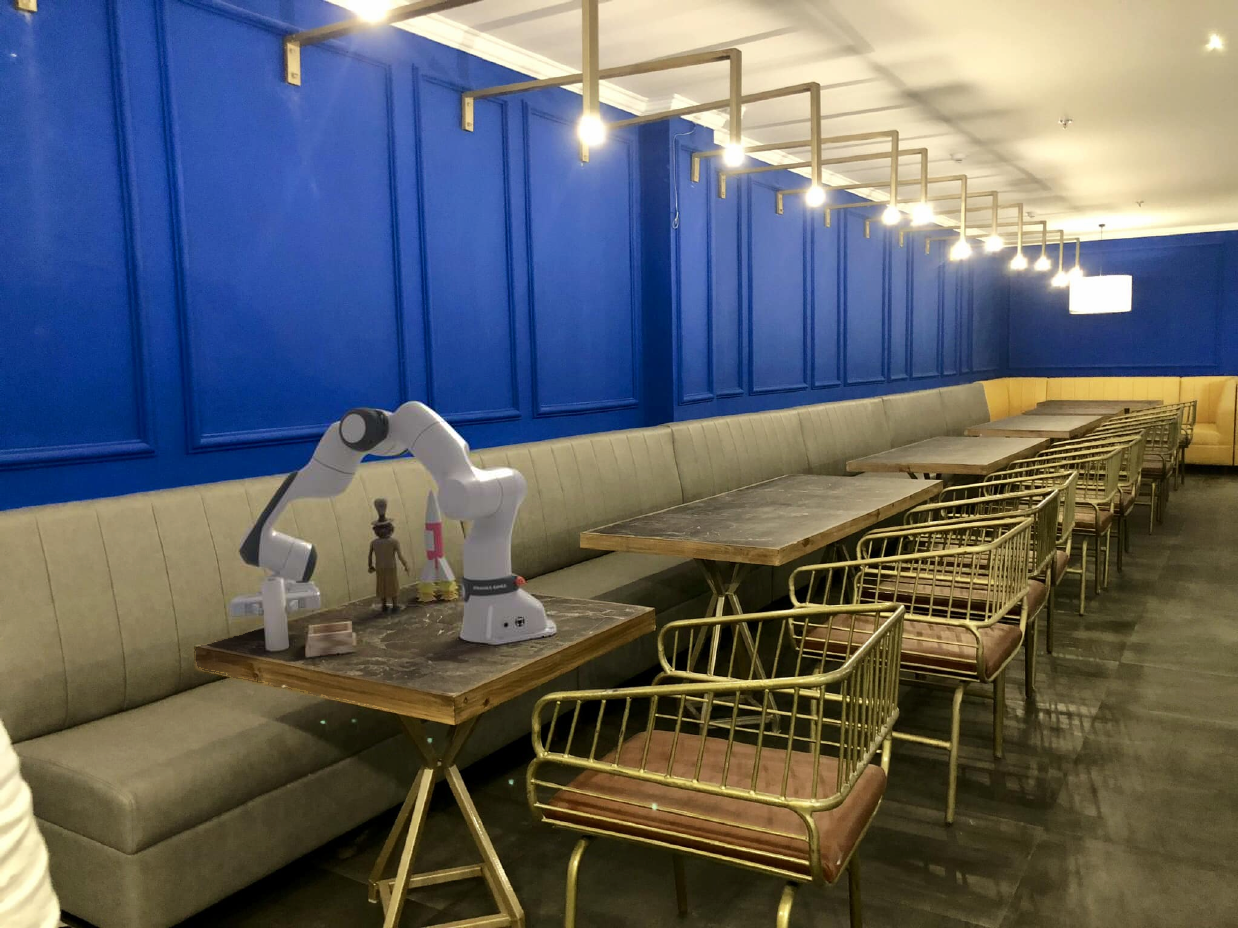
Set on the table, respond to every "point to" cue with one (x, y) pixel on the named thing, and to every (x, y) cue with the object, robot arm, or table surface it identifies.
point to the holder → (330, 639)
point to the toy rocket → (435, 557)
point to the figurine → (386, 559)
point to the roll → (274, 614)
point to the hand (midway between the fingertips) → (274, 610)
